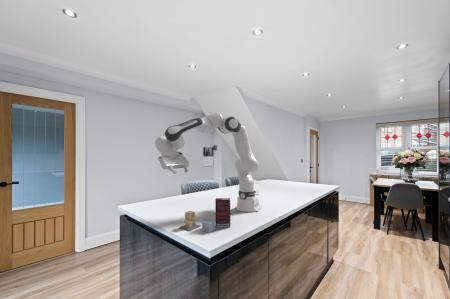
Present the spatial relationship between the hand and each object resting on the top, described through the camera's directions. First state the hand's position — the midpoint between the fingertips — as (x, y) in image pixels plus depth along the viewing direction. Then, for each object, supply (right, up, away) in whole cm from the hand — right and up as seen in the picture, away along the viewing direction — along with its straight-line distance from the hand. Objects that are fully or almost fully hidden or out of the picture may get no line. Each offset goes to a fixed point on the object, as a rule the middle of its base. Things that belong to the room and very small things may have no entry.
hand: (181, 172), depth 125 cm
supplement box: (+26, -31, -7) cm, 40 cm away
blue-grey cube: (+18, -30, -14) cm, 38 cm away
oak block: (+7, -30, -9) cm, 32 cm away
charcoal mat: (+7, -30, -9) cm, 32 cm away
